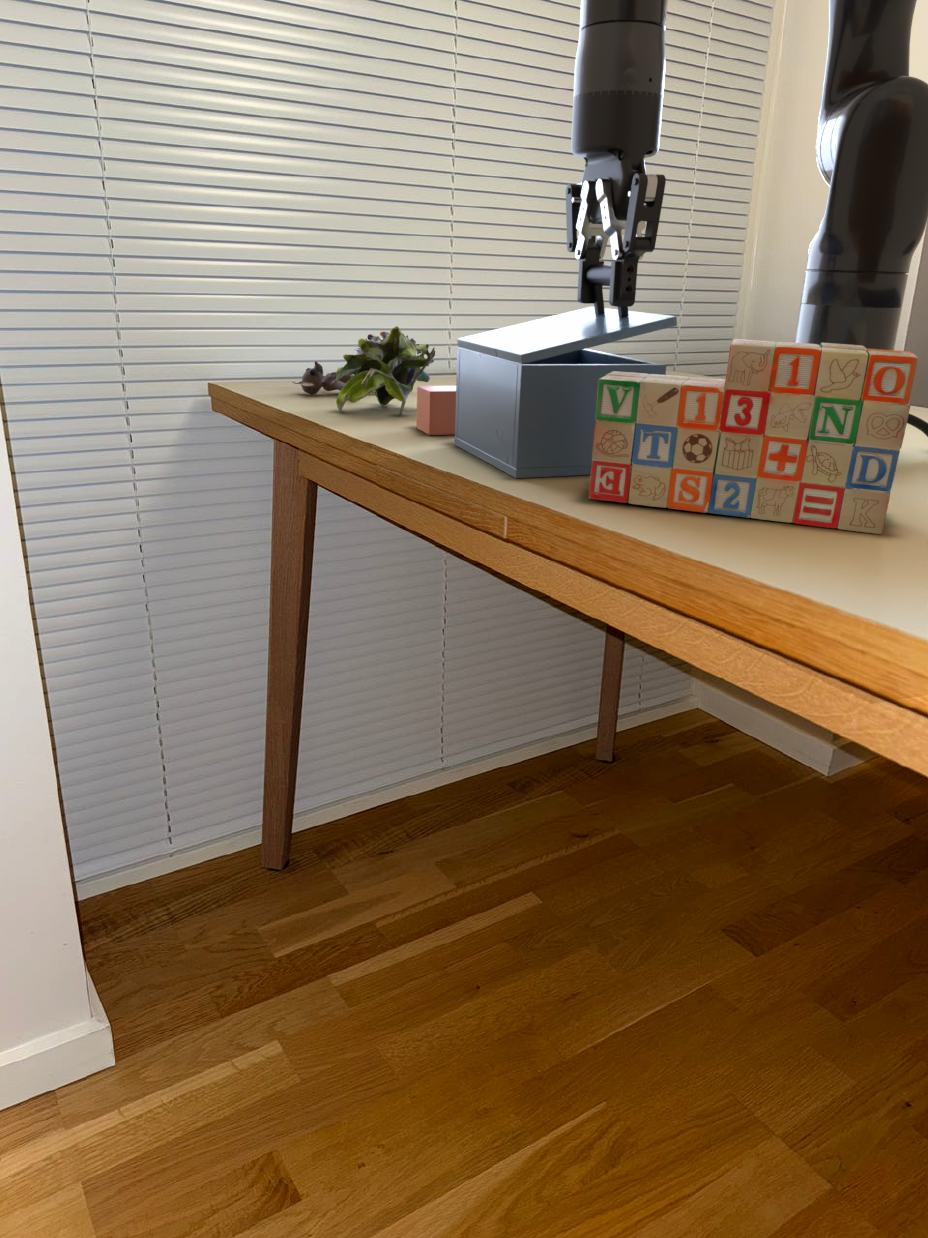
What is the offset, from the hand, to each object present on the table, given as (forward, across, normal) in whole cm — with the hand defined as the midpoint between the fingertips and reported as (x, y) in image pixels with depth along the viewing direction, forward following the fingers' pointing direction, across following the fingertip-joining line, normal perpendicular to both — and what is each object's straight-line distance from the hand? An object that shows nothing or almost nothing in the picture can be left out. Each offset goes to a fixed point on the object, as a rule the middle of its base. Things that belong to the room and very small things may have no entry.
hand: (604, 303), depth 84 cm
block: (+14, +16, +10) cm, 23 cm away
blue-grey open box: (+14, 0, +5) cm, 15 cm away
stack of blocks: (+14, -21, -1) cm, 25 cm away
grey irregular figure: (+14, +46, +13) cm, 50 cm away
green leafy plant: (+14, +30, +12) cm, 35 cm away
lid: (+3, 0, +4) cm, 5 cm away
